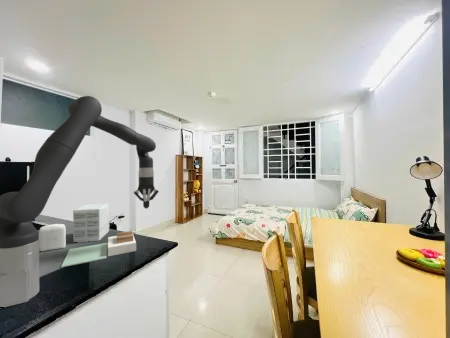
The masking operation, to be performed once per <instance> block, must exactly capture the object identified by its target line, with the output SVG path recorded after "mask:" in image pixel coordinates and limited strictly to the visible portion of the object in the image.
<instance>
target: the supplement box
mask: <svg viewBox="0 0 450 338" xmlns="http://www.w3.org/2000/svg"><path fill="white" fill-rule="evenodd" d="M72 214H73V215H72V217H73V219H72V220H73V223H72V224H73V225H72V229H73V231H72V232H73V243H74V242H78V243H87V242H88V241H90V242H99V241H100V240H102V239H103V238H104V237H105V236H106V235H107V234H108V233H109V232H110V203H92V204H91V203H89V204H88V203H87V204H85V205H82V206H80V207H78V208H76V209H73V210H72ZM88 243H89V242H88Z"/></svg>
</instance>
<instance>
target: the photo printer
mask: <svg viewBox="0 0 450 338" xmlns="http://www.w3.org/2000/svg"><path fill="white" fill-rule="evenodd" d="M66 228H67V227H66V225H65V224H63V223H53V224H48V225H43V226H41V227H40V228H39V231H38V232H39V252H40V251H41V252H46V251H53V250H59V249H63V248H66V245H67V241H66V240H67V238H66V237H67V231H66V230H67V229H66Z"/></svg>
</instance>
